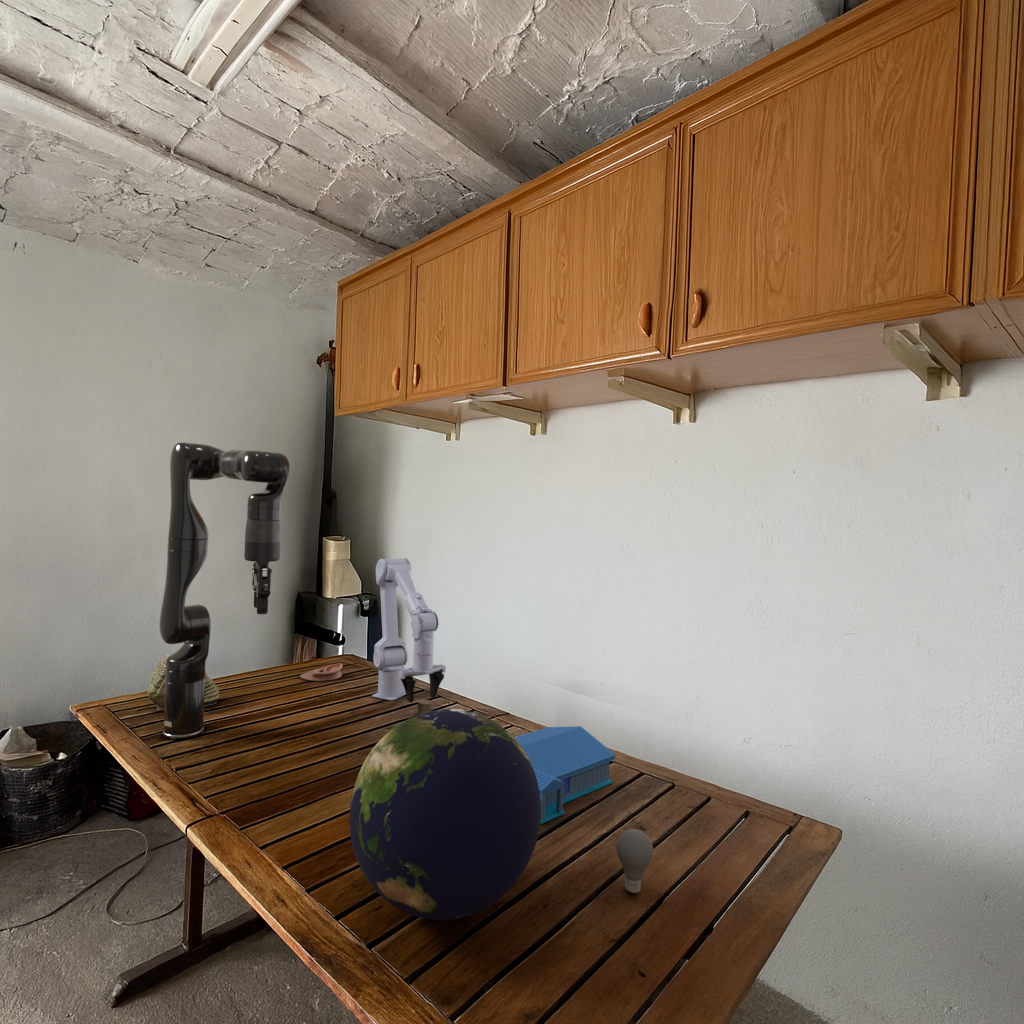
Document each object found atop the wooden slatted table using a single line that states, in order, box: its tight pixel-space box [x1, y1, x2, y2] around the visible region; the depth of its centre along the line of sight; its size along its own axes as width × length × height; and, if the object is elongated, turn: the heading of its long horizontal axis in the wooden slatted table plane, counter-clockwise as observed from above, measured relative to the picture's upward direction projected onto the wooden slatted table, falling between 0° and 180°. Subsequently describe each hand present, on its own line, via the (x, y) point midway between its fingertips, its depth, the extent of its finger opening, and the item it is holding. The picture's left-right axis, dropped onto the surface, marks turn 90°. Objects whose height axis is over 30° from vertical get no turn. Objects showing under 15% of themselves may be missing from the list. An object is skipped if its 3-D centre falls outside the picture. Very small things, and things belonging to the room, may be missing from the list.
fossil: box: [147, 654, 221, 712], centre depth 185 cm, size 9×18×15 cm, turn 132°
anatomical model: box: [299, 662, 344, 682], centre depth 220 cm, size 13×4×12 cm
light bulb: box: [615, 828, 654, 894], centre depth 106 cm, size 6×6×10 cm
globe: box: [349, 708, 541, 921], centre depth 100 cm, size 30×30×30 cm
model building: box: [513, 725, 616, 825], centre depth 140 cm, size 39×24×10 cm, turn 132°
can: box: [417, 699, 432, 715], centre depth 187 cm, size 4×4×4 cm
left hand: (260, 610), depth 144 cm, fingers open, 8 cm apart
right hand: (421, 699), depth 186 cm, fingers open, 7 cm apart
